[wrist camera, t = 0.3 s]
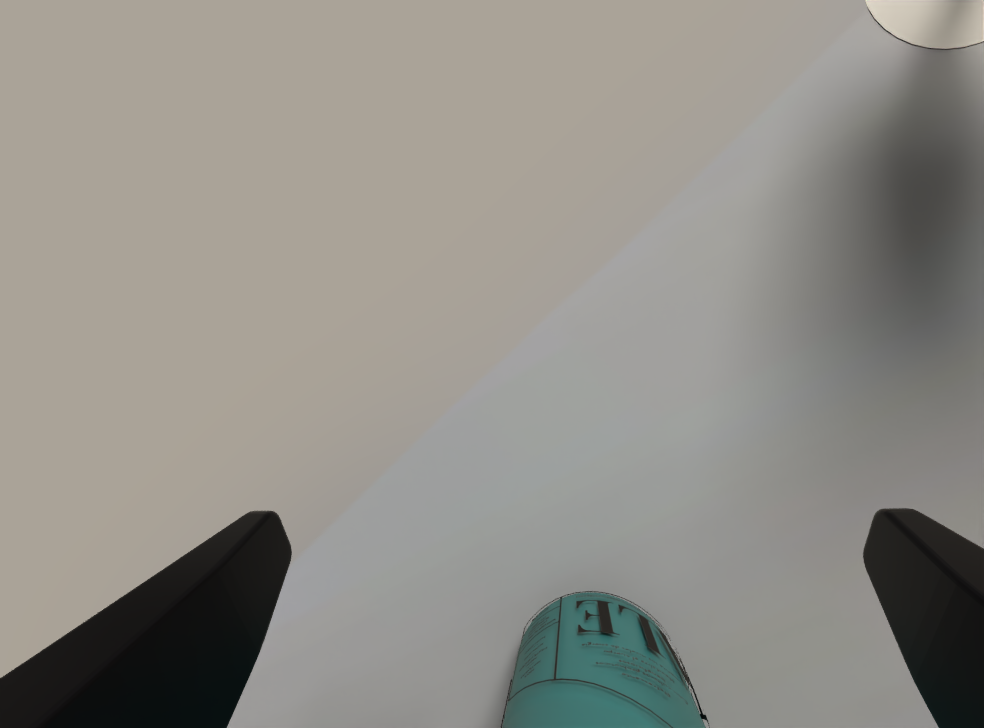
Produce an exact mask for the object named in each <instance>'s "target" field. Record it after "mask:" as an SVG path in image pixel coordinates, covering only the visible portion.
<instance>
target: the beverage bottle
mask: <svg viewBox="0 0 984 728" xmlns="http://www.w3.org/2000/svg"><path fill="white" fill-rule="evenodd" d="M585 592H593V591H585ZM576 593H578V594H574V593H572V594H574V595H570V594H568V595H570V596H567V597H564V596H562V597H564V598H562V597H560V599H559V598H557V599H559V600H558V601H556V602H554V603H552V604H551V605H549V606H548V607H546V608H545V609H544V610H543V611H542V612H540V613H539V614H538V615H537V616H536V618H534V619H533V621H532V623H531V624H530V626H529V627H528V629H527V631H526V632H525V634H524V632H523V634H524V635H523V636H524V637H523V636H522V641H521V645H520V648H519V652H518V656H517V661H516V665H515V670H514V675H513V680H512V679H511V681H512V685H511V683H510V685H511V689H510V687H509V690H510V694H509V692H508V695H509V699H508V697H507V699H508V704H507V701H506V704H507V708H506V706H505V709H506V713H505V711H504V713H505V718H504V715H503V718H504V723H503V720H502V723H503V728H705V725H704V723H703V721H702V719H705V720H707V717H706V715H703V713H702V710H701V708H700V705H699V702H698V699H697V698H698V697H696V694H695V691H694V689H693V686H692V684H691V681H690V679H689V677H687V676H688V674H686V673H687V672H686V671H685V667H684V666H683V664H682V666H683V669H684V671H685V673H684V671H683V669H682V667H681V665H680V663H679V661H678V659H679V658H678V659H677V657H678V656H677V655H675V654H676V653H675V652H674V651H673V649H672V648H671V646H670V644H669V642H668V641H667V639H668V638H669V637H668V638H667V637H666V636H665V635H664V634H663V633H662V631H661V630H660V629H659V627H660V626H659V625H658V626H659V627H658V626H657V625H656V624H655V623H654V622H655V621H654V620H652V619H650V618H651V617H648V616H647V614H645V613H644V612H643V611H641V610H640V609H638V608H637V607H635V606H634V605H632V604H630V603H628V602H626V601H624V600H622V599H619V598H617V597H619V596H617V597H614V596H616V595H614V596H611V595H613V594H611V595H607V594H609V593H606V594H601V593H603V592H600V593H581V592H576ZM565 596H566V595H565ZM620 598H622V597H620ZM623 599H624V598H623ZM555 600H556V599H555ZM625 600H626V599H625ZM553 601H554V600H553ZM553 601H552V602H553ZM627 601H629V600H627ZM630 602H631V601H630ZM550 603H551V602H550ZM632 603H633V602H632ZM548 604H549V603H548ZM633 604H634V603H633ZM635 605H636V604H635ZM545 606H546V605H545ZM545 606H544V607H545ZM637 606H638V605H637ZM639 607H640V606H639ZM640 608H641V607H640ZM541 609H542V608H541ZM541 609H540V610H541ZM643 610H644V609H643ZM644 611H645V610H644ZM647 613H648V612H647ZM648 614H649V613H648ZM530 620H531V619H530ZM530 620H529V621H530ZM655 620H656V619H655ZM656 621H657V620H656ZM657 622H658V621H657ZM658 623H659V622H658ZM527 624H528V623H527ZM527 624H526V625H527ZM525 627H526V626H525ZM660 628H661V627H660ZM662 628H663V627H662ZM662 628H661V629H662ZM663 629H664V628H663ZM663 629H662V630H663ZM524 630H525V628H524ZM663 632H664V630H663ZM666 633H667V632H666ZM668 636H669V635H668ZM666 638H667V639H666ZM670 639H671V638H670ZM670 641H671V640H670ZM675 648H676V647H675ZM676 652H677V651H676ZM676 656H677V657H676ZM679 657H680V656H679ZM679 660H681V659H679ZM680 662H681V663H682V661H680ZM685 674H686V675H685ZM683 676H684V677H685V679H684V677H683ZM688 679H689V680H688ZM686 681H687V683H689V681H690V683H689V685H690V684H691V685H690V686H691V688H692V689H693V692H694V695H695V698H696V700H697V703H698V706H699V709H700V712H701V714H699V711H698V709H697V706H696V704H695V702H694V699H693V697H692V693H690V691H689V687H688V686H689V685H688V686H687V684H686ZM707 721H708V720H707ZM708 724H709V723H708ZM501 728H502V725H501ZM709 728H710V727H709Z"/></svg>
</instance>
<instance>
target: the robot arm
mask: <svg viewBox="0 0 984 728" xmlns="http://www.w3.org/2000/svg"><path fill="white" fill-rule="evenodd" d="M291 555H292V551H291V545H290V542H289V540H288V537H287V535H286V532H285V530H284V527H283V525H282V522H281V520H280V517H279V515H278V514H277V513H275V512H273V511H252V512H249V513H247V514H245V515H244V516H242V517H241V518H239V519H238V520H236V521H235V522H233V523H232V524H230V525H229V526H227V527H226V528H224V529H223V530H221V531H220V532H218V533H217V534H215V535H214V536H212V537H211V538H209V539H208V540H206V541H205V542H203V543H202V544H200V545H199V546H197V547H196V548H194V549H193V550H191V551H190V552H188V553H187V554H185V555H184V556H183V557H181V558H179V559H178V560H176V561H175V562H173V563H172V564H171V565H169V566H168V567H166V568H165V569H163V570H162V571H160V572H159V573H157V574H156V575H154V576H153V577H151V578H150V579H148V580H147V581H145V582H144V583H142V584H141V585H139V586H138V587H136V588H135V589H133V590H132V591H130V592H129V593H127V594H126V595H124V596H123V597H121V598H120V599H118V600H117V601H115V602H114V603H112V604H111V605H109V606H108V607H106V608H105V609H103V610H102V611H100V612H99V613H97V614H96V615H94V616H93V617H91V618H90V619H88V620H87V621H86V622H84V623H83V624H81V625H79V626H78V627H76V628H75V629H73V630H72V631H70V632H69V633H67V634H66V635H64V636H63V637H62V638H60V639H58V640H57V641H56V642H54V643H53V644H51V645H50V646H48V647H47V648H45V649H43V650H42V651H41V652H40V653H38V654H36V655H35V656H33V657H32V658H30V659H29V660H27V661H26V662H24V663H23V664H21V665H20V666H18V667H17V668H15V669H14V670H12V671H11V672H9V673H8V674H6V675H5V676H3V677H2V678H0V728H227V726H228V724H229V721H230V719H231V717H232V715H233V712H234V710H235V708H236V706H237V703H238V701H239V699H240V696H241V694H242V692H243V690H244V687H245V685H246V683H247V681H248V678H249V676H250V674H251V672H252V669H253V667H254V665H255V662H256V660H257V657H258V655H259V652H260V650H261V647H262V644H263V642H264V639H265V636H266V633H267V630H268V627H269V624H270V621H271V618H272V615H273V612H274V609H275V606H276V603H277V600H278V597H279V594H280V591H281V588H282V585H283V582H284V579H285V576H286V573H287V570H288V567H289V564H290V561H291ZM863 558H864V564H865V567H866V570H867V573H868V575H869V577H870V580H871V582H872V584H873V587H874V589H875V592H876V594H877V596H878V599H879V601H880V603H881V606H882V608H883V610H884V613H885V615H886V617H887V620H888V622H889V625H890V627H891V629H892V632H893V634H894V636H895V639H896V641H897V643H898V646H899V648H900V651H901V653H902V655H903V658H904V660H905V662H906V664H907V667H908V669H909V671H910V673H911V675H912V678H913V680H914V682H915V684H916V686H917V688H918V690H919V692H920V694H921V695H922V697H923V699H924V701H925V703H926V705H927V707H928V709H929V710H930V712H931V714H932V716H933V718H934V720H935V721H936V723H937V725H938V727H939V728H984V549H983V548H981V547H980V546H978V545H976V544H974V543H973V542H971V541H969V540H968V539H966V538H964V537H962V536H961V535H959V534H957V533H955V532H954V531H952V530H950V529H948V528H947V527H945V526H943V525H941V524H940V523H938V522H936V521H934V520H933V519H931V518H929V517H927V516H926V515H924V514H922V513H920V512H918V511H916V510H913V509H908V508H899V509H880V510H878V511H877V512H876V513H875V515H874V517H873V521H872V524H871V527H870V531H869V534H868V537H867V540H866V544H865V547H864V552H863Z"/></svg>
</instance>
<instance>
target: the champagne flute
mask: <svg viewBox="0 0 984 728" xmlns="http://www.w3.org/2000/svg"><path fill="white" fill-rule="evenodd" d="M865 1H866V4H867V7H868V8H869V10H870V12H871V13H872V15H873V17H874V18H875V19H876V20H877V21H878V22H879V23H880V24H881V25H882V27H883V28H884V29H886V30H887V31H889V32H890V33H892V34H893V35H894V36H896V37H897V38H900V39H902V40H904V41H907V42H909V43H911V44H915V45H919V46H923V47H927V48H940V49H950V48H959V47H966V46H969V45H973V44H977V43H980V42H983V41H984V0H865Z"/></svg>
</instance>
